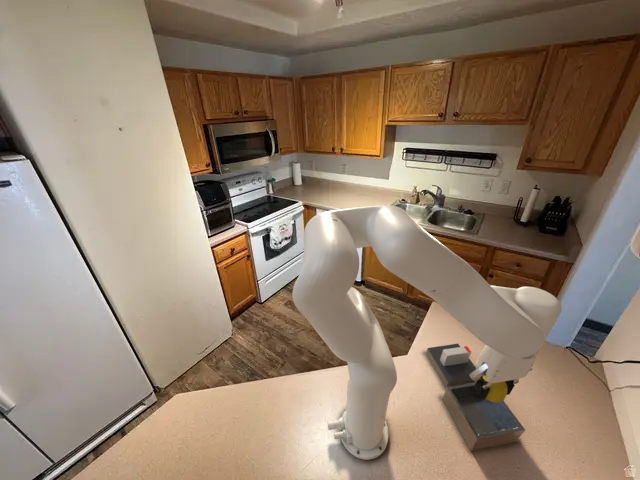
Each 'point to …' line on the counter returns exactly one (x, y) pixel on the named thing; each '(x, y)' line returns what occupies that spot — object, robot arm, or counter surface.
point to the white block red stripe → (455, 356)
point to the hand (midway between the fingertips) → (491, 390)
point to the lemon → (497, 391)
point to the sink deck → (450, 367)
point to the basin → (481, 418)
